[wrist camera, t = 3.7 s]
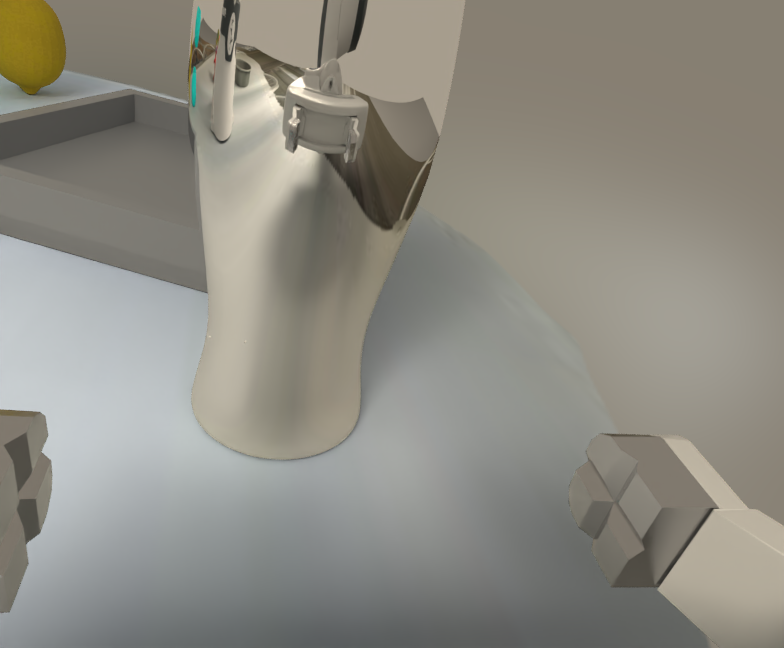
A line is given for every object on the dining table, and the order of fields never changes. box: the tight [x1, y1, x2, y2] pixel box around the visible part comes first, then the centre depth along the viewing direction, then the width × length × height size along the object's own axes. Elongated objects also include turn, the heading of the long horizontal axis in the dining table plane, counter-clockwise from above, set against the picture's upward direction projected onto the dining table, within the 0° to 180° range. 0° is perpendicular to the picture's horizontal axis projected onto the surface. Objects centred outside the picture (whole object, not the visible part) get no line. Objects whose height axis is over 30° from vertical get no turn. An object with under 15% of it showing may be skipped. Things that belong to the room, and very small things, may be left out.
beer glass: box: [188, 0, 465, 460], centre depth 18 cm, size 7×7×15 cm
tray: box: [0, 89, 208, 293], centre depth 36 cm, size 18×20×3 cm
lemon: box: [0, 0, 66, 94], centre depth 46 cm, size 6×6×8 cm
